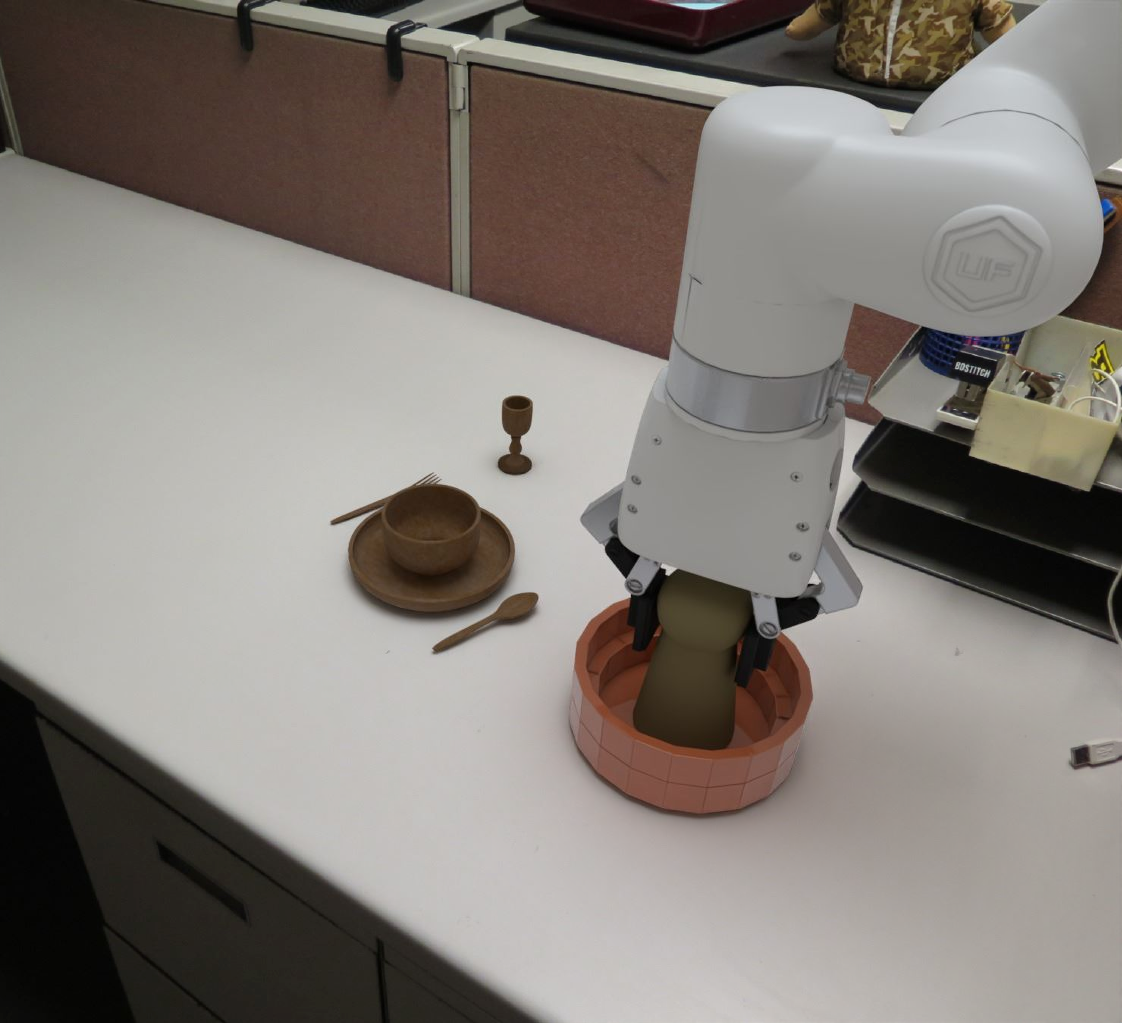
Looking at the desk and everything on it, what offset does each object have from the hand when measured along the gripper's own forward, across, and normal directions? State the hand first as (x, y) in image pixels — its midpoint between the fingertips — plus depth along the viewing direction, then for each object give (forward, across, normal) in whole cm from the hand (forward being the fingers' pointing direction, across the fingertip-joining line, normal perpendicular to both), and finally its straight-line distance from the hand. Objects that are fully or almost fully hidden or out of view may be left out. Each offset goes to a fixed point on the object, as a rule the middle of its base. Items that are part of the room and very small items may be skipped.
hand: (695, 651), depth 60 cm
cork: (+6, 0, 0) cm, 6 cm away
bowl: (+6, 0, 0) cm, 6 cm away
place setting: (+7, +19, -10) cm, 22 cm away
